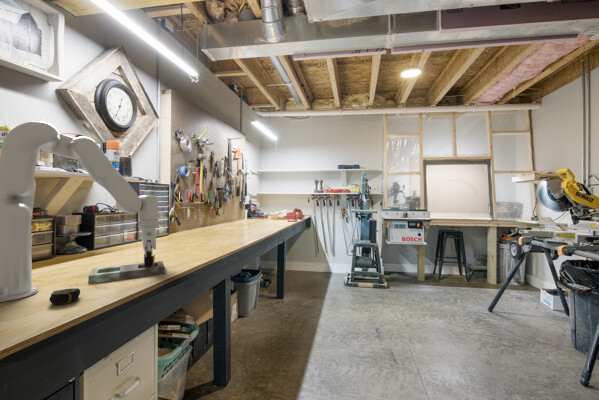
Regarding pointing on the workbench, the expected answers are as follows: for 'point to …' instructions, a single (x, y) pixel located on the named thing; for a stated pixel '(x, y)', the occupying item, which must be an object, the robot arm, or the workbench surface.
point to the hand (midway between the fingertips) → (148, 263)
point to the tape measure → (64, 296)
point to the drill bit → (148, 266)
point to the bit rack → (124, 272)
